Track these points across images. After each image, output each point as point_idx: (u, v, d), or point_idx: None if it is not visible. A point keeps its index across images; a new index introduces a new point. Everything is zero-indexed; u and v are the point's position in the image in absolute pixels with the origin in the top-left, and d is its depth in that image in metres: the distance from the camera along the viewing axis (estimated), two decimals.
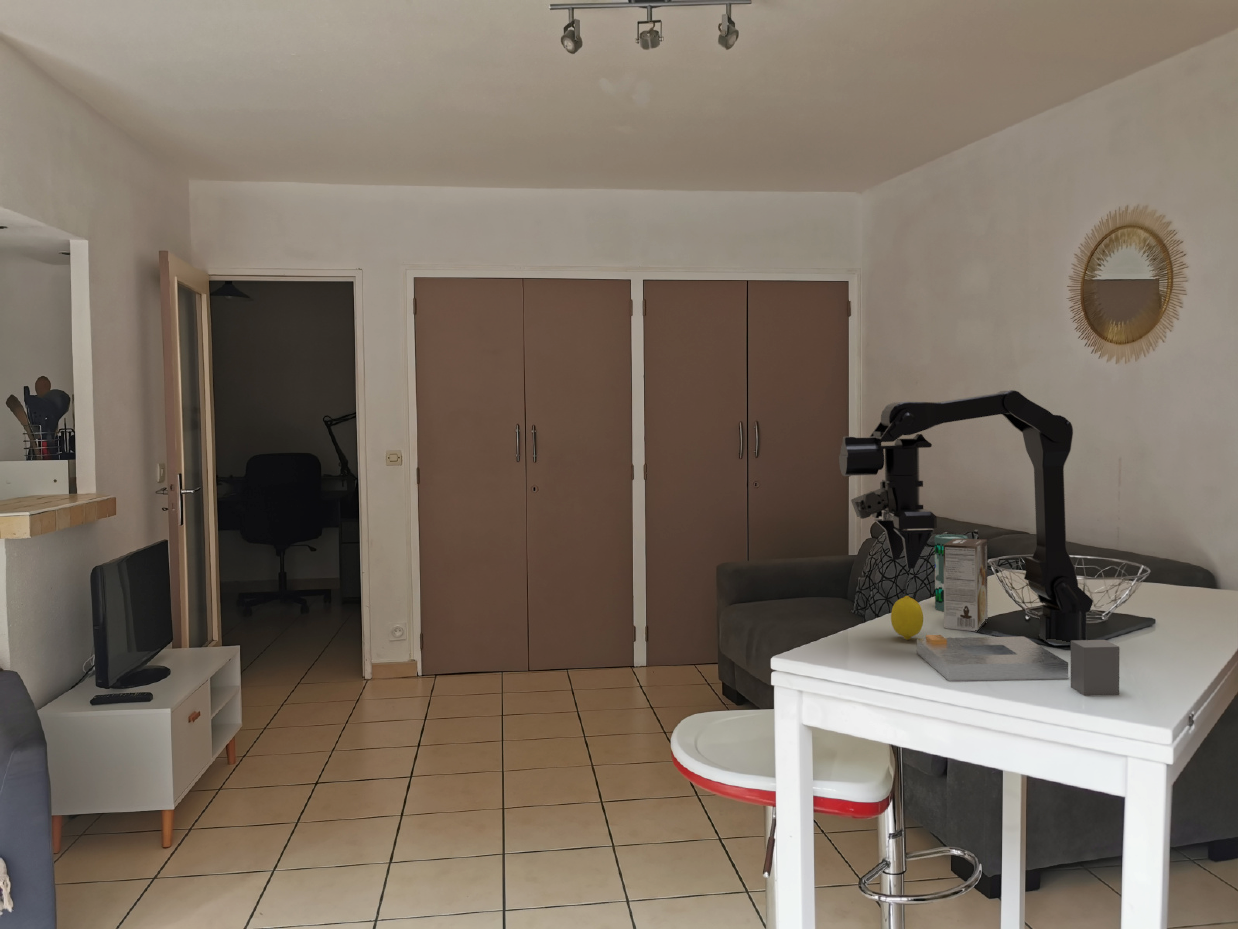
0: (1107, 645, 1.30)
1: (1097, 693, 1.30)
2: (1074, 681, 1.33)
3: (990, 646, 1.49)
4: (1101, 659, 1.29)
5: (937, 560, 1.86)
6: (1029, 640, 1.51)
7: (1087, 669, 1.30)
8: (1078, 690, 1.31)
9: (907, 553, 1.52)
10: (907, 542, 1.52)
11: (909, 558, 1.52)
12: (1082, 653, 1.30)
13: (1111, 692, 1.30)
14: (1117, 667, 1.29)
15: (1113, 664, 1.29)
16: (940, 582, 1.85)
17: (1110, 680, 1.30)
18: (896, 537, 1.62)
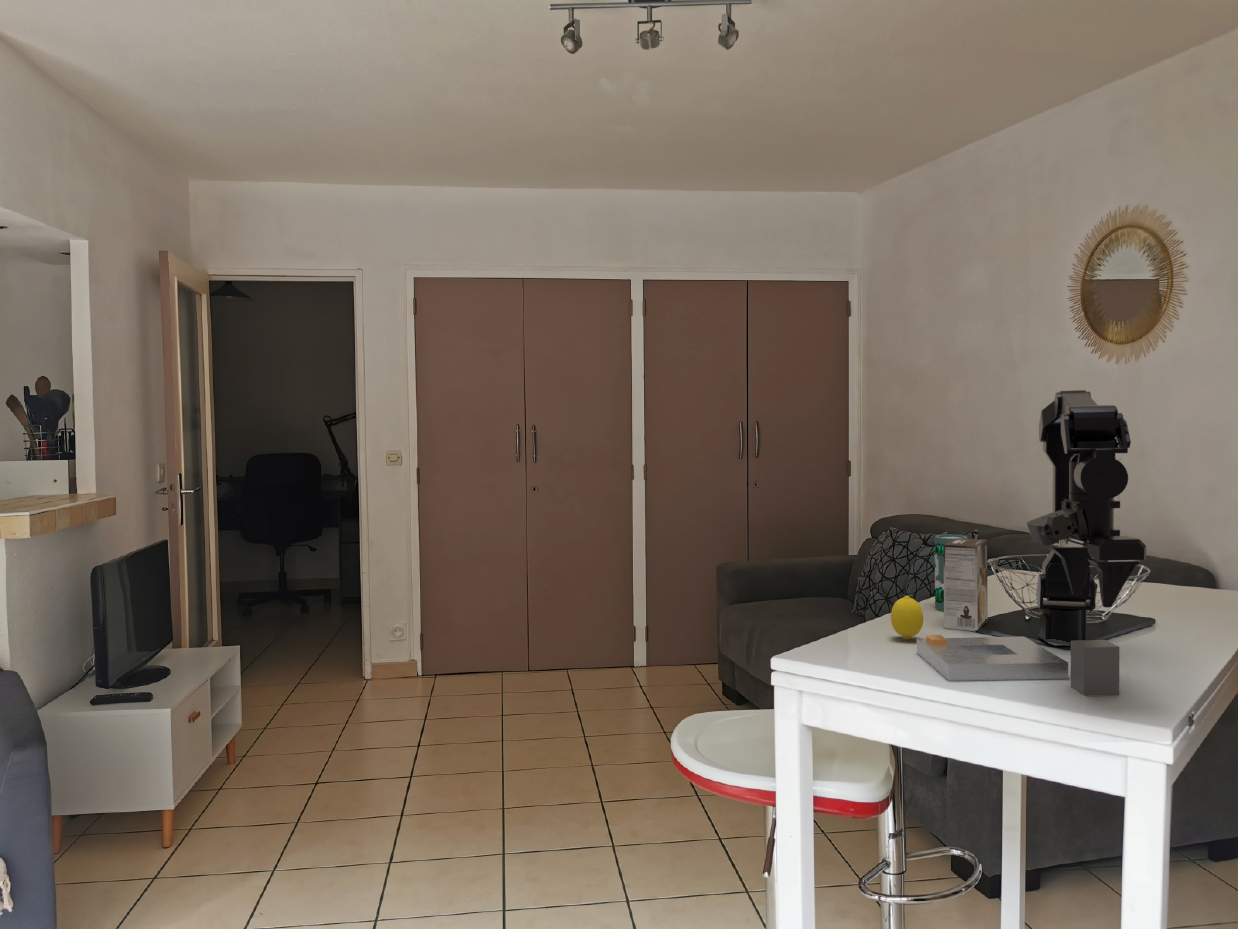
0: (1107, 645, 1.30)
1: (1097, 693, 1.30)
2: (1074, 681, 1.33)
3: (990, 646, 1.49)
4: (1101, 659, 1.29)
5: (937, 560, 1.86)
6: (1029, 640, 1.51)
7: (1087, 669, 1.30)
8: (1078, 690, 1.31)
9: (1104, 589, 1.26)
10: (1106, 575, 1.25)
11: (1106, 595, 1.26)
12: (1082, 653, 1.30)
13: (1111, 692, 1.30)
14: (1117, 667, 1.29)
15: (1113, 664, 1.29)
16: (940, 582, 1.85)
17: (1110, 680, 1.30)
18: (1077, 567, 1.36)
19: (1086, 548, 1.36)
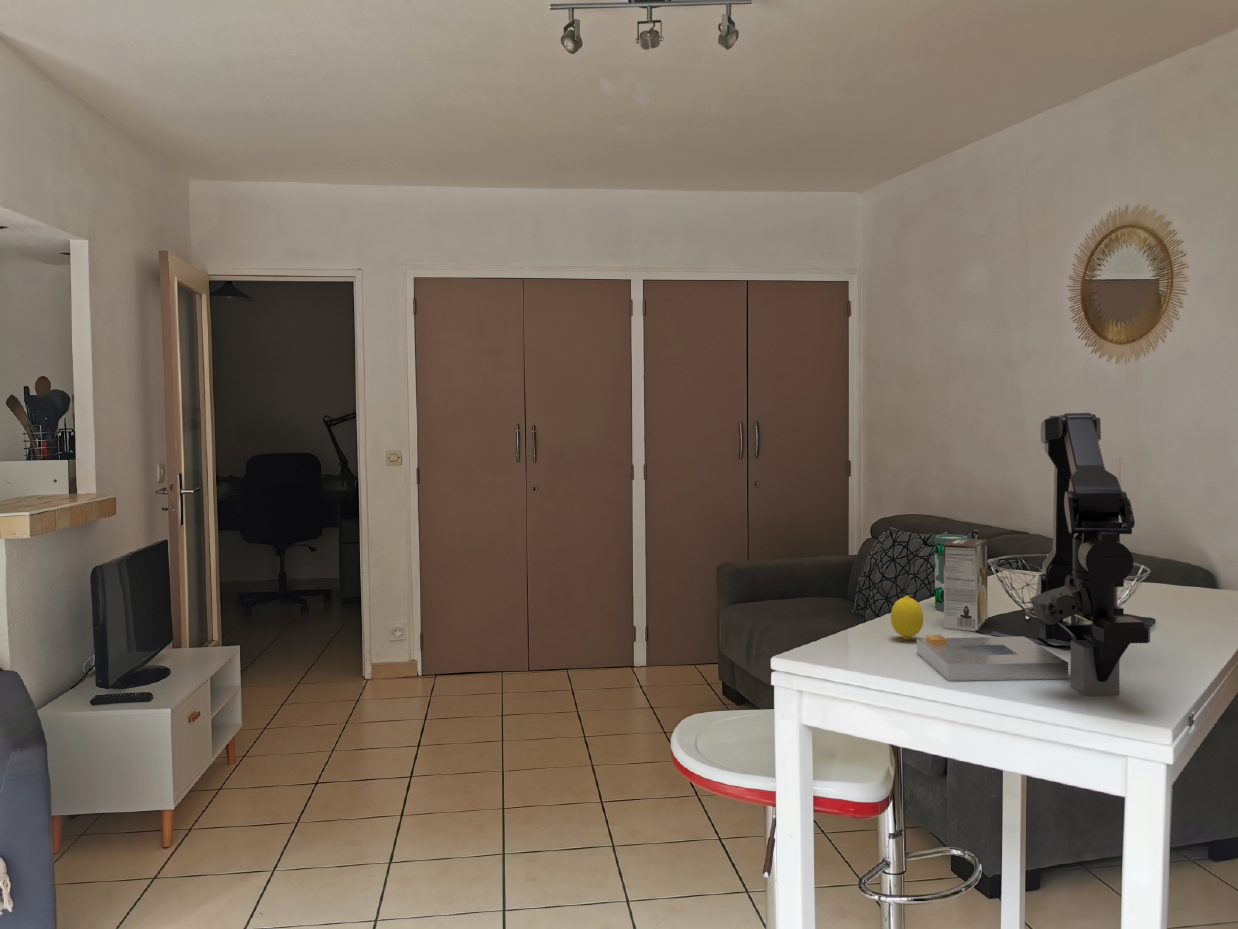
0: None
1: (1097, 693, 1.30)
2: (1074, 681, 1.33)
3: (990, 646, 1.49)
4: None
5: (937, 560, 1.86)
6: (1029, 640, 1.51)
7: (1087, 669, 1.30)
8: (1078, 690, 1.31)
9: (1099, 665, 1.29)
10: (1101, 652, 1.28)
11: (1101, 670, 1.29)
12: (1082, 653, 1.30)
13: (1111, 692, 1.30)
14: (1117, 667, 1.29)
15: None
16: (940, 582, 1.85)
17: (1110, 680, 1.30)
18: None
19: None
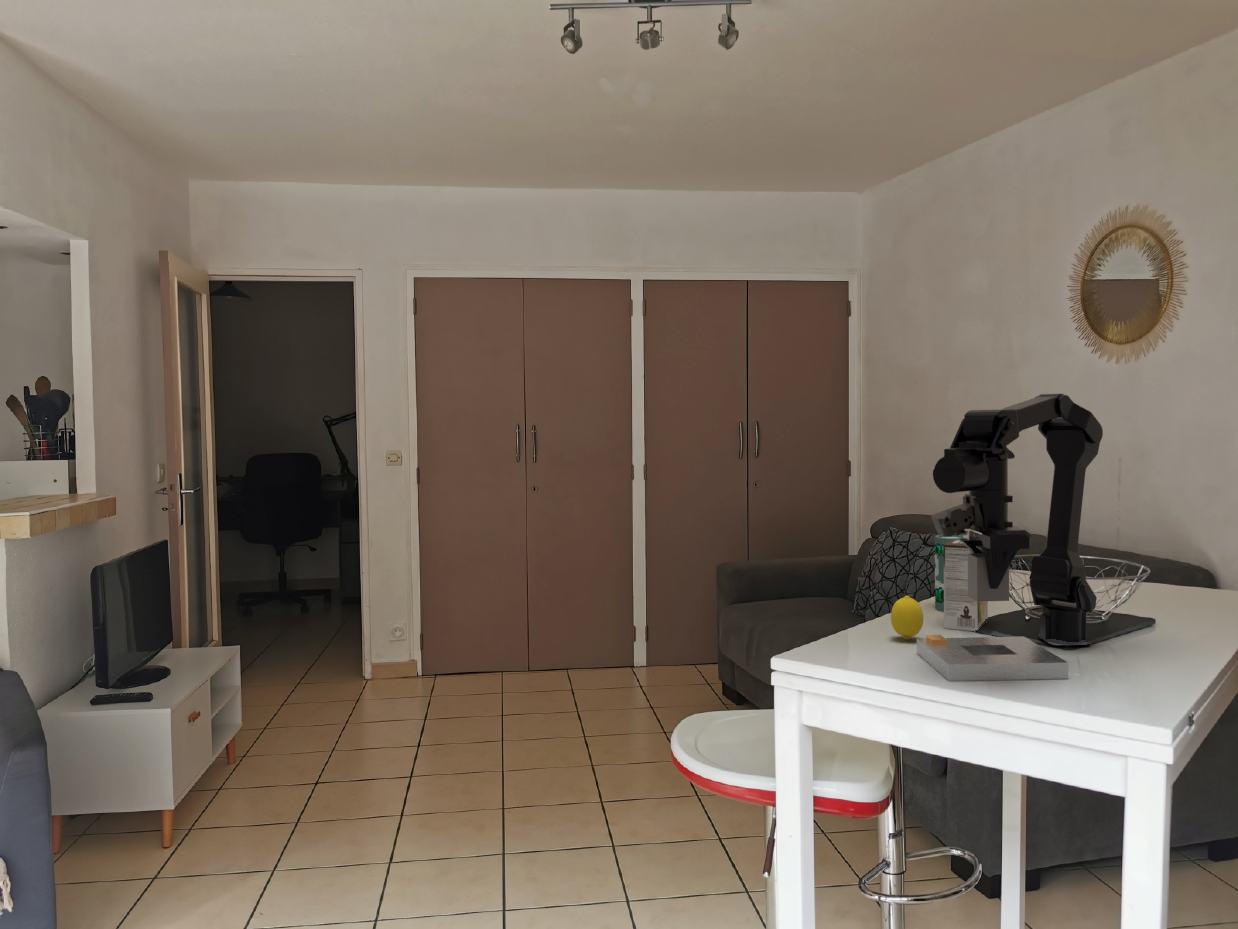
0: None
1: (989, 599, 1.43)
2: (970, 590, 1.46)
3: (990, 646, 1.49)
4: None
5: (937, 560, 1.86)
6: (1029, 640, 1.51)
7: (980, 577, 1.43)
8: (973, 597, 1.45)
9: (990, 573, 1.42)
10: (991, 560, 1.41)
11: (992, 577, 1.42)
12: (976, 563, 1.43)
13: (1002, 598, 1.43)
14: (1007, 575, 1.43)
15: None
16: (940, 582, 1.85)
17: (1001, 587, 1.43)
18: None
19: None
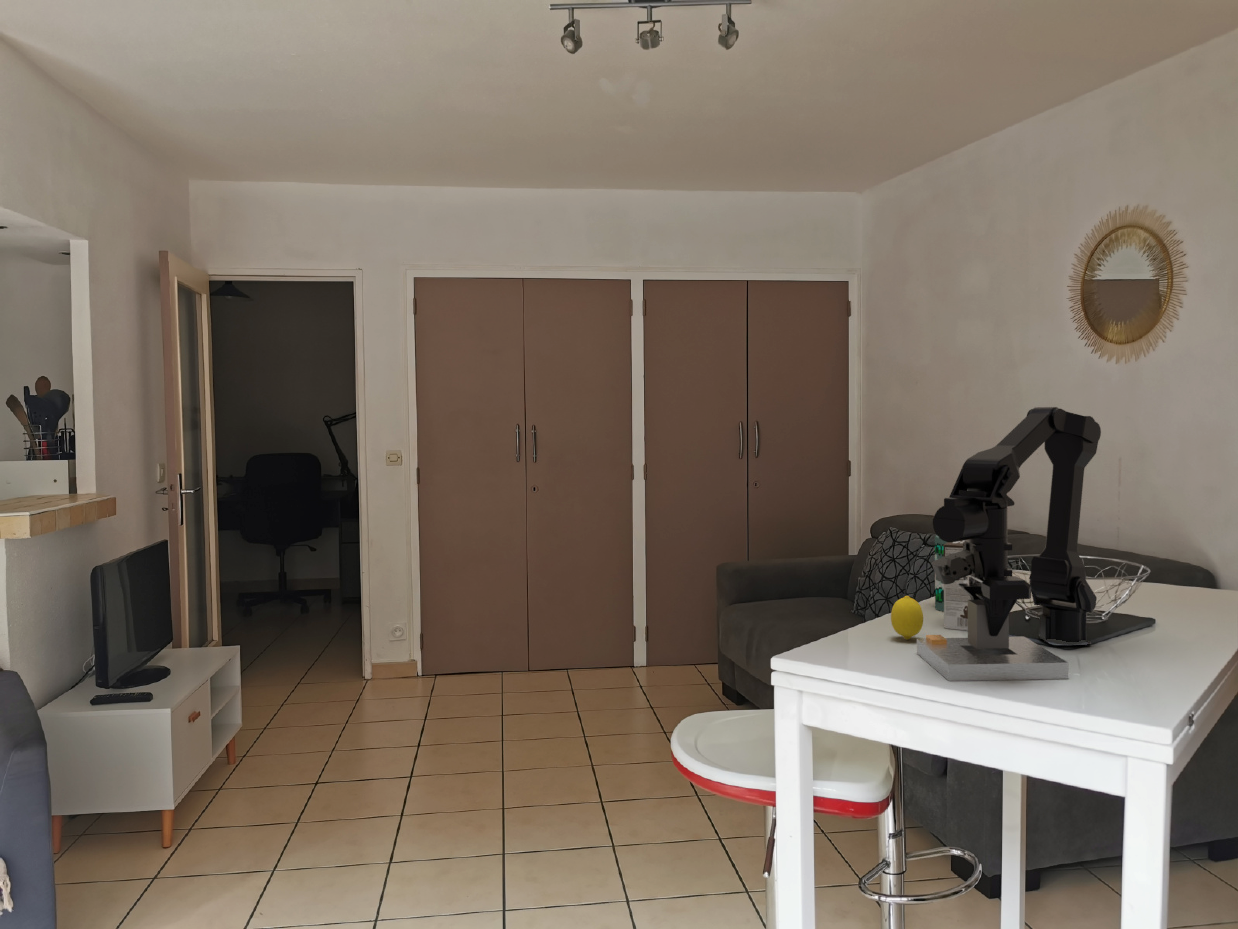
0: None
1: (989, 646, 1.44)
2: (970, 637, 1.47)
3: None
4: None
5: None
6: (1029, 640, 1.51)
7: (979, 624, 1.44)
8: (973, 644, 1.45)
9: (990, 620, 1.43)
10: (991, 608, 1.42)
11: (992, 625, 1.43)
12: (976, 610, 1.44)
13: (1001, 645, 1.44)
14: (1007, 623, 1.44)
15: None
16: (940, 582, 1.85)
17: (1001, 634, 1.44)
18: None
19: None
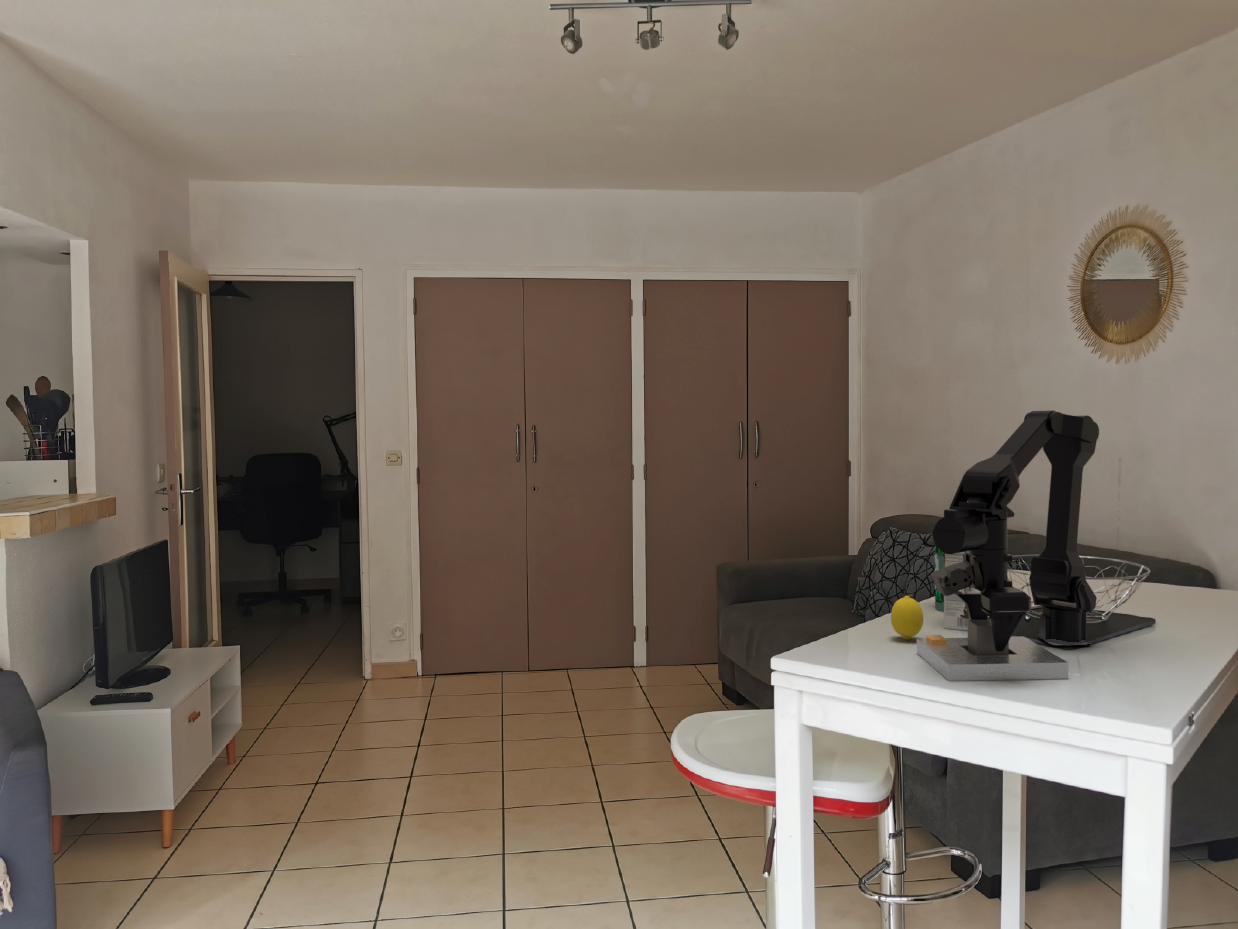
0: None
1: None
2: None
3: None
4: (992, 636, 1.44)
5: (937, 560, 1.86)
6: (1029, 640, 1.51)
7: (979, 645, 1.44)
8: None
9: (996, 636, 1.40)
10: (997, 623, 1.39)
11: (998, 640, 1.40)
12: (975, 631, 1.44)
13: None
14: (1007, 643, 1.44)
15: None
16: None
17: None
18: (978, 612, 1.50)
19: None
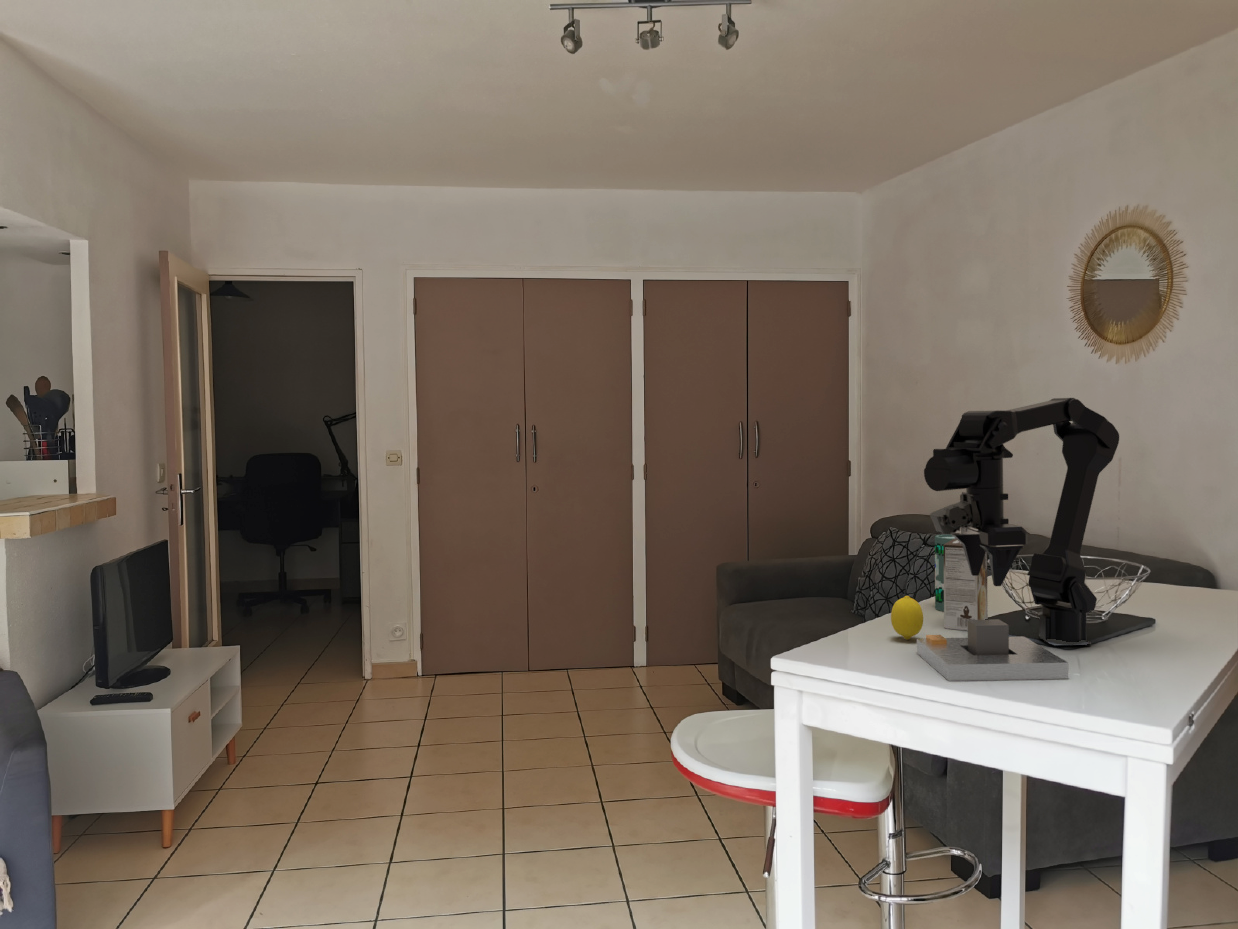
0: (998, 624, 1.45)
1: None
2: None
3: None
4: (992, 636, 1.44)
5: (937, 560, 1.86)
6: (1029, 640, 1.51)
7: (979, 645, 1.44)
8: None
9: (994, 571, 1.45)
10: (995, 559, 1.44)
11: (996, 575, 1.45)
12: (976, 631, 1.44)
13: None
14: (1007, 643, 1.44)
15: (1003, 641, 1.44)
16: (940, 582, 1.85)
17: None
18: (975, 552, 1.55)
19: None
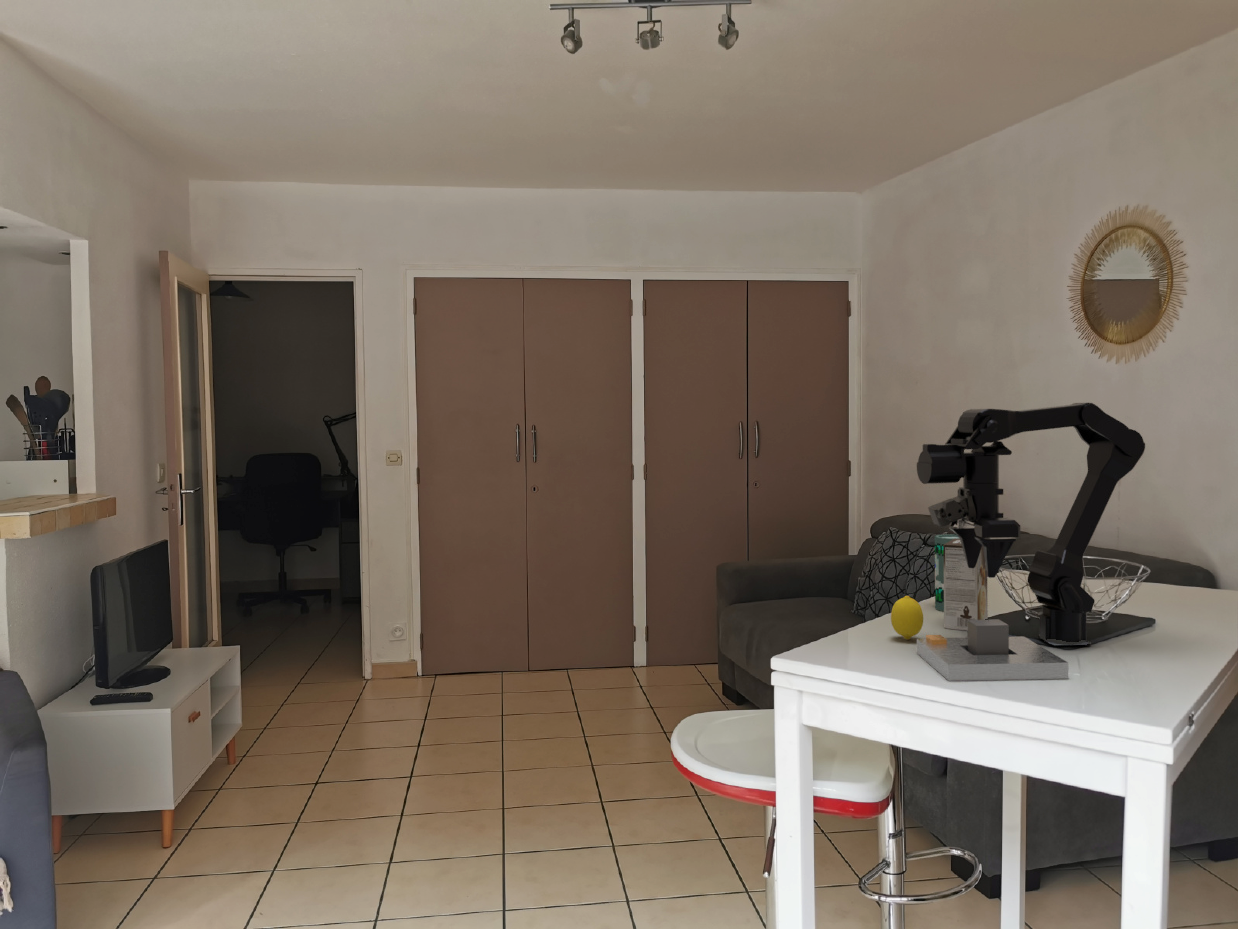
0: (998, 624, 1.45)
1: None
2: None
3: None
4: (992, 636, 1.44)
5: (937, 560, 1.86)
6: (1029, 640, 1.51)
7: (979, 645, 1.44)
8: None
9: (988, 562, 1.51)
10: (989, 551, 1.50)
11: (990, 567, 1.51)
12: (976, 631, 1.44)
13: None
14: (1007, 643, 1.44)
15: (1003, 641, 1.44)
16: (940, 582, 1.85)
17: None
18: (972, 545, 1.61)
19: None
